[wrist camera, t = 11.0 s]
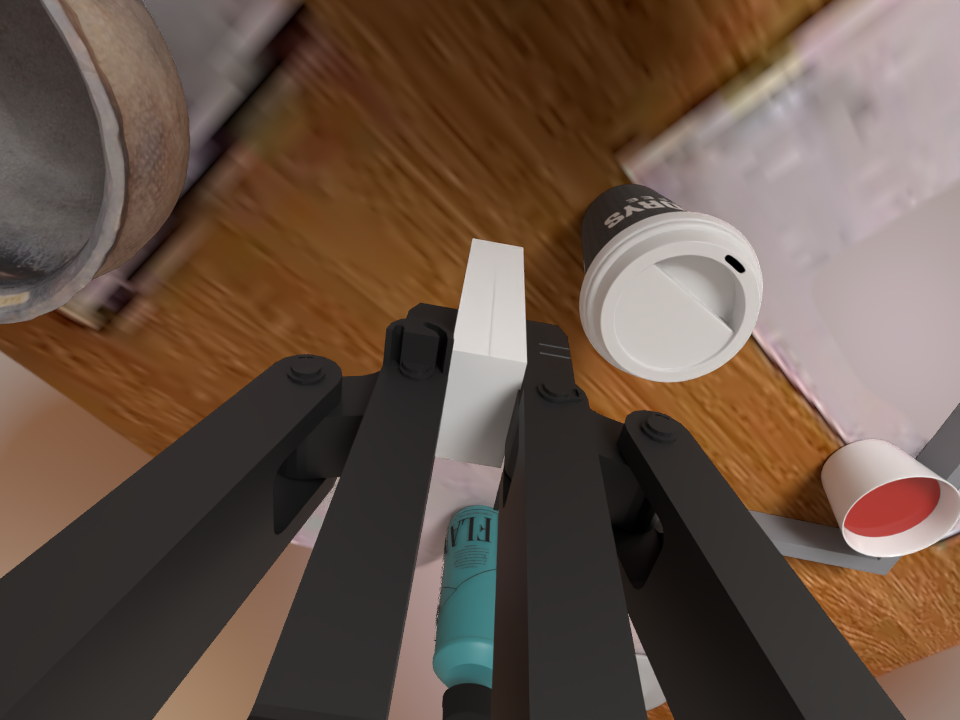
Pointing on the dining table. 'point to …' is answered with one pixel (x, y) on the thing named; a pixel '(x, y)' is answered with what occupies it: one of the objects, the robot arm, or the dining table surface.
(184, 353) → the dining table surface
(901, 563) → the dining table surface
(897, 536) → the candle
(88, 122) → the ceramic bowl
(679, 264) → the coffee cup
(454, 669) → the beverage bottle
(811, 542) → the corner fence
